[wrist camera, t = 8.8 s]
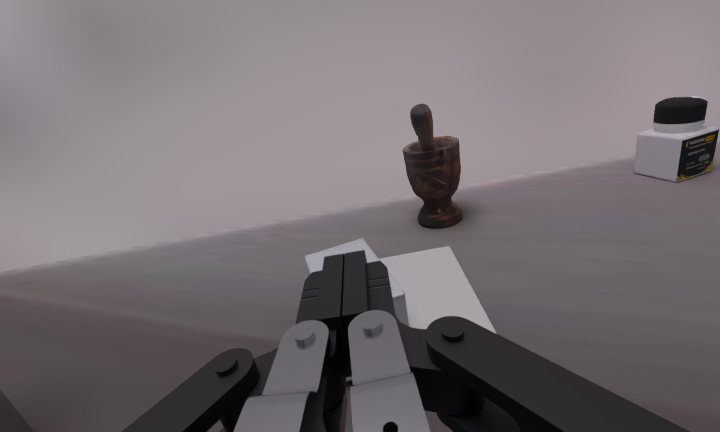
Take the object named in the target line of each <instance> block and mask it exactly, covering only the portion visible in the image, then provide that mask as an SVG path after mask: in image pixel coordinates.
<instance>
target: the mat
mask: <svg viewBox="0 0 720 432" xmlns="http://www.w3.org/2000/svg"><path fill="white" fill-rule="evenodd" d="M379 260H380V261H381V262H382V263H383V264H384V265H385V266H386V267H387V269H388V271H389V273H390V274H391V275H392V276H393V278H394V279H395V280H396V282H397V283H398V284H399V285H400V287H401V288H402V289H403V291H404V292H405V298H406V307H407V314H408V320H409V326H410V327H412V328H418V329H427V327H428V326H429V325H430V324H431V323H432V322H433V321H434V320H436V319H438V318H441V317H446V316H458V317H463V318H466V319H468V320H470V321H472V322H474V323H476V324H478V325H480V326H482V327H484V328H486V329H488V330H490V331H492V332H494V333H496V332H495V330H494V328H493V326H492V324H491V322H490V321H489V319H488V317H487V315H486V313H485V311H484V309H483V308H482V306H481V304H480V302H479V300H478V298H477V297H476V295H475V293H474V291H473V289H472V287H471V285H470V284H469V282H468V280H467V278H466V276H465V274H464V272H463V271H462V269H461V267H460V265H459V263H458V261H457V260H456V258H455V256H454V254H453V252H452V250H451V248H450V247H449V246H447V247H441V248H436V249H430V250H425V251H419V252H414V253H408V254H403V255H397V256H392V257H386V258H381V259H379Z"/></svg>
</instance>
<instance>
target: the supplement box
mask: <svg viewBox="0 0 720 432" xmlns="http://www.w3.org/2000/svg"><path fill="white" fill-rule="evenodd" d="M360 250H365V254H366V259H367V263H369V262H375V261H380V260H379V259H378V257H377V256H376V255H375V254H374V252H373V251H372V250H371V249H370V247H369V246H368V245H367V243H366V242H365V241H364V239H359V240H355V241H352V242H349V243H346V244H342V245H339V246H336V247H333V248H329V249H326V250H323V251H320V252H316V253H313V254H309V255H306V256H305V260H306V264H307V268H308V271H309V275H310V274H311V273H312V272H315V271H321V270H322V268H323V261H324V257H325V256H331V255H337V254H343V253H344V255H345V253H348V252H354V251H360ZM388 274H389V280H390V286H391V291H392V297H393V303H394V309H395V314H396V317H397V318H398V320H399V321H400V322H402V323H403V324H405V325H407V326H409V320H408V314H407V307H406V298H405V292H404V291H403V289H402V288H401V287H400V285H399V284H398V283H397V282H396V280H395V279H394V278H393V276H392V275H391V274H390V273H389V271H388ZM409 327H410V326H409ZM350 380H352V377H346V382H347V381H350Z"/></svg>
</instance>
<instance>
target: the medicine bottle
mask: <svg viewBox="0 0 720 432" xmlns="http://www.w3.org/2000/svg"><path fill="white" fill-rule="evenodd" d="M707 103H708V101H707V100H706V99H705V98H701V97H698V96H683V97H674V98H669V99H665V100H662V101H660V102H658V103H657V104H656V105H655V113H654V121H653V127H655V128H654V129H651V130H647V131H644V132H641V133H639V134H638V136H637V146H636V156H635V165H634V173H636V174H640V175H645V176H649V177H654V178H659V179H663V180H668V181H672V182H679V181H682V180H685V179H688V178H691V177H694V176H698V175H701V174H704V173H707V172H709V171H711V169H712V163H713V158H714V153H715V148H716V143H717V137H718V132H719V128H718V127H709V126H701V125H703V124H704V120H705V115H706V109H707Z"/></svg>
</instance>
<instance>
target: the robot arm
mask: <svg viewBox="0 0 720 432" xmlns="http://www.w3.org/2000/svg"><path fill="white" fill-rule="evenodd" d="M346 377H352V381H353V385H350V397H351V409H352V422H353V432H430V429H429V425H428V422H427V419H426V415H425V412H424V410H426V411H431V412H436V413H437V415H438V417H439V419H440V420H441V421H442V422H443V423H444V424H445V425H446V426H447V427H449V428H450V429H451V430H452V431H453V432H689V431H687V430H685V429H683V428H681V427H680V426H678V425H676V424H674V423H672V422H670V421H668V420H666V419H664V418H662V417H660V416H658V415H656V414H654V413H652V412H650V411H648V410H646V409H644V408H642V407H640V406H638V405H636V404H634V403H632V402H630V401H628V400H626V399H624V398H622V397H620V396H618V395H616V394H614V393H612V392H610V391H608V390H606V389H604V388H602V387H600V386H598V385H597V384H595V383H593V382H591V381H589V380H587V379H585V378H583V377H581V376H579V375H577V374H575V373H573V372H571V371H569V370H567V369H565V368H563V367H561V366H559V365H557V364H555V363H553V362H551V361H549V360H547V359H545V358H543V357H541V356H539V355H537V354H535V353H533V352H531V351H529V350H527V349H525V348H523V347H521V346H519V345H517V344H515V343H514V342H512V341H510V340H508V339H506V338H504V337H502V336H500V335H498V334H496V333H494V332H492V331H490V330H488V329H486V328H484V327H482V326H480V325H478V324H476V323H474V322H472V321H470V320H468V319H466V318H463V317H458V316H446V317H441V318H438V319H436V320H434V321H433V322H432V323H431V324H430V325H429V326H428V327H427V329H418V328H412V327H409V326H407V325H405V324H403V323H402V322H400V321H399V320H398V318H397V317H396V314H395V309H394V303H393V297H392V291H391V286H390V280H389V274H388V269H387V267H386V266H385V265H384V264H383V263H382V262H381V261H375V262H369V263H367V259H366V254H365V250H360V251H354V252H348V253H345V255H344V253H343V254H337V255H331V256H325V257H324V261H323V268H322V270H321V271H315V272H312V273H311V274H310V275H309V277H308V278H307V279H306V280H305V283H304V288H303V292H302V297H301V301H300V306H299V310H298V315H297V320H296V324H295V325H294V326H293V327H291V328H290V329H289V330H287V332H286V333H285V334H284V335H283V337H282V339H281V342H280V345H279V348H277V349H275V350H273V351H271V352H269V353H266V354H264V355H261V356H259V357H256V358H253V355H252V353H251V352H250V351H249V350H247V349H243V348H236V349H231V350H228V351H225V352H223V353H221V354H219V355H218V356H216V357H215V358H214V359H212V360H211V361H210V362H209V363H207V364H206V365H205V366H203V367H202V368H201V369H200V370H198V371H197V372H196V373H195V374H193V375H192V376H191V377H190V378H188V379H187V380H186V381H185V382H183V383H182V384H181V385H180V386H178V387H177V388H176V389H175V390H173V391H172V392H171V393H170V394H168V395H167V396H166V397H165V398H163V399H162V400H161V401H160V402H158V403H157V404H156V405H155V406H153V407H152V408H151V409H149V410H148V411H147V412H146V413H144V414H143V415H142V416H141V417H139V418H138V419H137V420H136V421H134V422H133V423H132V424H131V425H129V426H128V427H127V428H126V429H124V430H123V431H122V432H207V431H208V430H209V429H210V428H211V427H212V426H213V425H214V424H215V423H216V422H217V421H218V420H219V419H220V421H221V423H222V425H223V427H224V428H223V429H222V430H221V431H220V432H345V422H346V412H347V395H346ZM0 432H34V431H33V429H32V428H31V427H30V426H29V424H28V423H27V422H26V421H25V420H24V418H23V417H22V416H21V415H20V413H19V412H18V411H17V410H16V408H15V407H14V406H13V405H12V403H11V402H10V401H9V399H8V398H7V397H6V396H5V394H4V393H3V392H2V391H1V390H0Z"/></svg>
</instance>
